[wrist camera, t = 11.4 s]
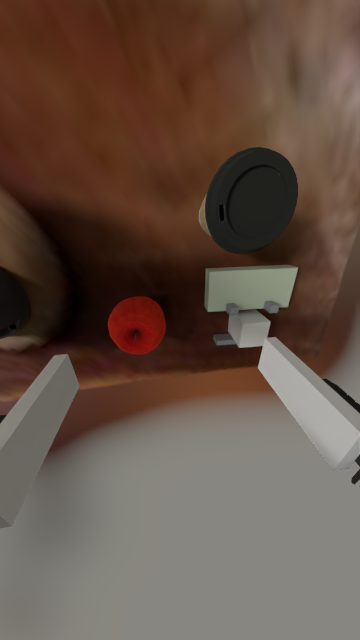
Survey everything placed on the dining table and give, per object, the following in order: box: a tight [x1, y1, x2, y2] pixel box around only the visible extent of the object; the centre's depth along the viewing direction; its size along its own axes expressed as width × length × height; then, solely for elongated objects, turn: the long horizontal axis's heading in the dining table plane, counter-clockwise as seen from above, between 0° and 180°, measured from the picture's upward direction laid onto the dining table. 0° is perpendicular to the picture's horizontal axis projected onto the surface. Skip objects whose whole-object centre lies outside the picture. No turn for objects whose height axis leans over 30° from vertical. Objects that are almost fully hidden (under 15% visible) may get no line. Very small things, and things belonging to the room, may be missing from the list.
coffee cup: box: [199, 147, 298, 254], centre depth 25 cm, size 10×10×15 cm
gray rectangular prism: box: [228, 309, 271, 348], centre depth 38 cm, size 6×6×7 cm
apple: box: [108, 296, 166, 355], centre depth 33 cm, size 10×10×12 cm
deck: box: [204, 265, 298, 345], centre depth 37 cm, size 17×17×6 cm
